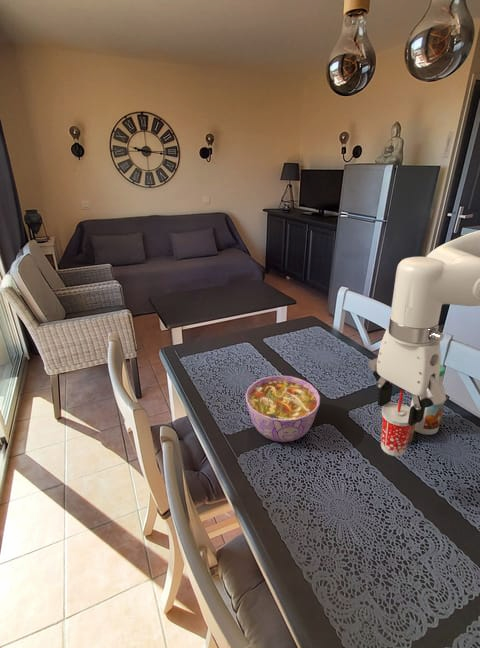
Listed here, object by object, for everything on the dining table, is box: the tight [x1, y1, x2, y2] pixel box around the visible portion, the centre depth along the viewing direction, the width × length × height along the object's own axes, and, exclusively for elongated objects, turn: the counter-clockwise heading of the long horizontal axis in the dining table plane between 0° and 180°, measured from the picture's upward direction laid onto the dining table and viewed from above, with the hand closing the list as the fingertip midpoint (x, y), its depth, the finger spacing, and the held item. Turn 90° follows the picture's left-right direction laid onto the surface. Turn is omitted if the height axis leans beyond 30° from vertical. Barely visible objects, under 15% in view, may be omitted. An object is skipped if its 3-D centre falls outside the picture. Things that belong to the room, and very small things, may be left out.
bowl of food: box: [244, 374, 321, 443], centre depth 99 cm, size 20×20×12 cm
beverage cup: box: [380, 389, 412, 457], centre depth 71 cm, size 6×6×14 cm
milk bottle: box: [409, 364, 446, 436], centre depth 97 cm, size 8×8×20 cm
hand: (398, 411), depth 70 cm, fingers closed on beverage cup, 6 cm apart
